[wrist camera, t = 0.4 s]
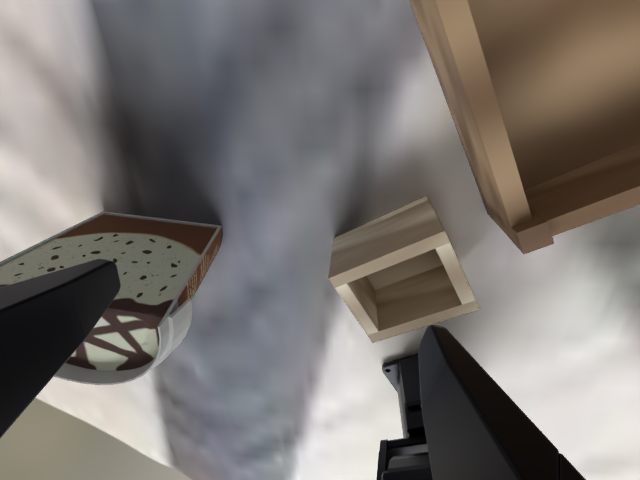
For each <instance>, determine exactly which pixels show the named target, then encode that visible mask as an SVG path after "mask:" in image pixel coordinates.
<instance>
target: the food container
mask: <svg viewBox="0 0 640 480" xmlns="http://www.w3.org/2000/svg"><path fill="white" fill-rule="evenodd" d="M222 235H223V234H222V226H221V225H213V224H205V223H196V222H188V221H180V220H172V219H164V218H155V217H147V216H139V215H131V214H122V213H114V212H106V211H103V212H101V213H99V214H97V215H95V216H93V217H91V218H89V219H87V220H85V221H83V222H81V223H79V224H77V225H75V226H73V227H70V228H68V229H66V230H64V231H62V232H60V233H58V234H56V235H54V236H52V237H50V238H48V239H46V240H44V241H42V242H40V243H38V244H36V245H34V246H32V247H30V248H28V249H26V250H24V251H22V252H20V253H18V254H15V255H13V256H11V257H9V258H7V259H5V260H3V261H1V262H0V287H4V286H7V285H10V284H14V283H17V282H21V281H24V280H28V279H31V278H34V277H38V276H41V275H45V274H48V273H51V272H55V271H58V270H62V269H65V268H68V267H72V266H75V265H79V264H82V263H86V262H89V261H92V260H96V259H104V260H109V261H113V262H115V264H116V265H117V269H118V274H119V278H120V283H121V287H120V290H119V292H118V294H117V295H116V297H115V298H114V300H113V301H112V302H111V304H110V305H109V307H108V308H107V310H106V311H105V312H104V314H103V315H102V317H101V318H100V319H99V321H98V322H97V324H96V325H95V327H94V328H93V329H92V331H91V332H90V333H89V335H88V336H87V337H86V339H85V340H84V341H83V342H82V344H81V345H80V346H79V347H78V348H77V349H76V351H75V352H74V353H73V354H72V355H71V356H70V358H69V359H68V360H67V361H66V362H65V363H64V365H63V366H62V367H61V368H60V369H59V370H58V372H57V373H56V374H55V375H54V377H57V378H61V379H64V380H68V381H73V382H78V383H84V384H94V385H113V384H121V383H125V382H129V381H132V380H135V379H137V378H139V377H141V376H143V375H144V374H145V373H147V372H148V371H149V370H151V369H153V368H155V367H156V366H157V365H158V364H160V363H161V362H162V361H163V360H164V359H165V358H166V357H167V356H168V355H169V354H170V353H171V352H172V351H173V350H174V349H175V348H176V347H177V346H178V345H179V344H180V343H181V341H182V340H183V339H184V337H185V336H186V334H187V332H188V329H189V327H190V324H191V317H192V302H191V300H192V299H193V297H194V295H195V293H196V291H197V289H198V287H199V286H200V284H201V282H202V280H203V278H204V276H205V275H206V273H207V271H208V269H209V267H210V265H211V263H212V262H213V260H214V258H215V256H216V254H217V252H218V251H219V248H220V245H221V241H222Z"/></svg>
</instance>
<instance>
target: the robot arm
mask: <svg viewBox="0 0 640 480" xmlns="http://www.w3.org/2000/svg"><path fill="white" fill-rule="evenodd" d="M120 287H121V283H120V278H119V274H118V269H117V265H116V264H115V262H113V261H109V260H104V259H96V260H92V261H89V262H86V263H82V264H79V265H75V266H72V267H68V268H65V269H62V270H58V271H55V272H51V273H48V274H45V275H41V276H38V277H34V278H31V279H28V280H24V281H21V282H17V283H14V284H10V285H7V286H4V287H0V438H1V437H2V436H3V435H4V433H5V432H6V431H7V430H8V429H9V428H10V426H11V425H12V424H13V423H14V422H15V421H16V419H17V418H18V417H19V416H20V414H22V412H23V411H24V410H25V409H26V408H27V407H28V405H29V404H30V403H31V402H32V401H33V400H34V398H35V397H36V396H37V395H38V394H39V393H40V391H41V390H42V389H43V388H44V387H45V386H46V384H47V383H48V382H49V381H50V380H51V379H52V377H53V376H54V375H55V374H56V373H57V372H58V370H59V369H60V368H61V367H62V366H63V365H64V363H65V362H66V361H67V360H68V359H69V358H70V356H71V355H72V354H73V353H74V352H75V351H76V349H77V348H78V347H79V346H80V345H81V344H82V342H83V341H84V340H85V339H86V337H87V336H88V335H89V333H90V332H91V331H92V329H93V328H94V327H95V325H96V324H97V322H98V321H99V319H100V318H101V317H102V315H103V314H104V312H105V311H106V310H107V308H108V307H109V305H110V304H111V302H112V301H113V300H114V298H115V297H116V295H117V294H118V292H119V290H120ZM382 371H383V373H384V374H385V376H386V377H387V378H388V380H389V381H390V383H391V384H392V385H393V387H394V388H395V390H396V391H397V392H398V398H399V406H400V414H401V422H402V430H403V438H402V439H396V440H389V441H388V440H381V442H380V451H379V458H378V470H377V480H586V479H585V478H584V477H583V476H582V475H581V474H580V473H579V472H578V471H577V470H576V469H575V468H574V466H573V465H572V464H571V463H570V462H569V461H568V460H567V459H566V458H565V457H564V456H563V455H562V454H560V453H559V451H558V449H557V448H556V447H555V446H554V445H553V444H552V443H551V442H550V441H549V440H548V438H547V437H546V436H545V435H544V434H543V433H542V432H541V431H540V430H539V429H538V428H537V427H536V425H535V424H534V423H533V422H532V421H531V420H530V419H529V418H528V417H527V416H526V415H525V414H524V412H523V411H522V410H521V409H520V408H519V407H518V406H517V405H516V404H515V403H514V402H513V401H512V399H511V398H510V397H509V396H508V395H507V394H506V393H505V392H504V391H503V390H502V389H501V388H500V386H499V385H498V384H497V383H496V382H495V381H494V380H493V379H492V378H491V377H490V376H489V374H488V373H487V372H486V371H485V370H484V369H483V368H482V367H481V366H480V365H479V364H478V363H477V361H476V360H475V359H474V358H473V357H472V356H471V355H470V354H469V353H468V352H467V351H466V350H465V348H464V347H463V346H462V345H461V344H460V343H459V342H458V341H457V340H456V339H455V338H454V337H453V335H452V334H451V333H450V332H449V331H448V330H447V329H446V328H444V327H440V326H435V325H430V326H429V327H428V328H427V330H426V332H425V334H424V336H423V339H422V341H421V343H420V346H419V352H418V355H414V356H411V357H407V358H403V359H400V360H396V361H393V362H389V363H385V364H383V365H382Z"/></svg>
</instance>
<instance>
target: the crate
mask: <svg viewBox="0 0 640 480" xmlns="http://www.w3.org/2000/svg"><path fill="white" fill-rule="evenodd" d="M410 3H411V5H412V8H413V11H414V14H415V16H416V19H417V22H418V25H419V27H420V30H421V33H422V35H423V38H424V41H425V44H426V46H427V49H428V52H429V55H430V57H431V60H432V63H433V65H434V68H435V71H436V74H437V76H438V79H439V82H440V85H441V87H442V90H443V93H444V96H445V98H446V101H447V104H448V106H449V109H450V112H451V115H452V117H453V120H454V123H455V126H456V128H457V131H458V134H459V137H460V139H461V142H462V145H463V147H464V150H465V153H466V156H467V158H468V161H469V164H470V167H471V169H472V172H473V175H474V177H475V180H476V183H477V186H478V188H479V191H480V194H481V197H482V199H483V202H484V205H485V208H486V210H487V213H488V214H489V215H490V217H491V218H492V219H493V220H494V221H495V222H496V223H497V225H498V226H499V227H500V228H501V229H502V230H503V231H504V232H505V234H506V235H507V236H508V237H509V238H510V239H511V240H512V241H513V243H514V244H515V245H516V246H517V247H518V248H519V249H520V251H521V252H522V253H523V254H526V253H529V252H531V251H534V250H537V249H540V248H543V247H546V246H548V245H551V244H554V242H553V238H552V236H553V235H556V234H559V233H562V232H565V231H567V230H570V229H573V228H576V227H578V226H581V225H584V224H587V223H590V222H592V221H595V220H598V219H601V218H603V217H606V216H609V215H612V214H615V213H617V212H620V211H623V210H626V209H628V208H631V207H634V206H637V205H639V204H640V0H410Z"/></svg>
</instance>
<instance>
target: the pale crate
mask: <svg viewBox="0 0 640 480" xmlns="http://www.w3.org/2000/svg"><path fill="white" fill-rule="evenodd" d="M328 279H329V280H330V282H331V283H332V284H333V286H334V287H335V289H336V290H337V292H338V293H339V295H340V296H341V297H342V299H343V300H344V302H345V303H346V305H347V306H348V308H349V309H350V311H351V312H352V313H353V315H354V316H355V318H356V319H357V321H358V322H359V324H360V325H361V326H362V328H363V329H364V331H365V332H366V334H367V335H368V337H369V338H370V339H371V341H372V342H373V343H374V342H377V341H380V340H383V339H387V338H390V337H393V336H396V335H400V334H403V333H406V332H409V331H413V330H416V329H419V328H422V327H425V326H429V325H432V324H435V323H438V322H442V321H445V320H448V319H451V318H455V317H458V316H461V315H464V314H468V313H471V312H474V311H477V310H480V308H479V306H478V303H477V301H476V299H475V297H474V295H473V292H472V290H471V288H470V286H469V283H468V281H467V279H466V277H465V274H464V272H463V270H462V268H461V265H460V263H459V261H458V259H457V256H456V254H455V252H454V250H453V247H452V245H451V243H450V241H449V238H448V236H447V234H446V232H445V230H444V228H443V226H442V224H441V222H440V220H439V218H438V217H437V215H436V213H435V211H434V209H433V207H432V205H431V203H430V202H429V200H428V198H427V196H425V197H423V198H421V199H418V200H416V201H414V202H412V203H410V204H407V205H405V206H403V207H401V208H399V209H397V210H394V211H392V212H390V213H388V214H386V215H383V216H381V217H379V218H377V219H375V220H373V221H370V222H368V223H366V224H364V225H362V226H359V227H357V228H355V229H353V230H351V231H349V232H346V233H344V234H342V235H340V236H338V237H335V238H334V240H333V248H332V255H331V263H330V270H329V278H328Z"/></svg>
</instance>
